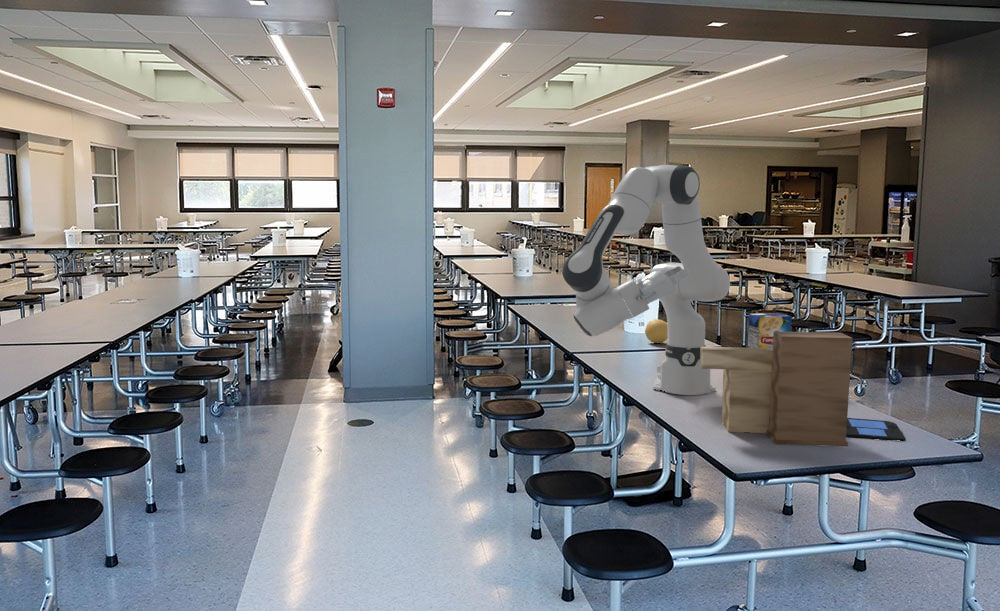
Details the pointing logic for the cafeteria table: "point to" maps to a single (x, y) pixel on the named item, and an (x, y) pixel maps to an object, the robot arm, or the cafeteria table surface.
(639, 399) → the cafeteria table surface
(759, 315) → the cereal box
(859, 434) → the game console
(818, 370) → the walnut block
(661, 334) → the stress ball
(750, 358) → the maple batten
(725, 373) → the oak stand
